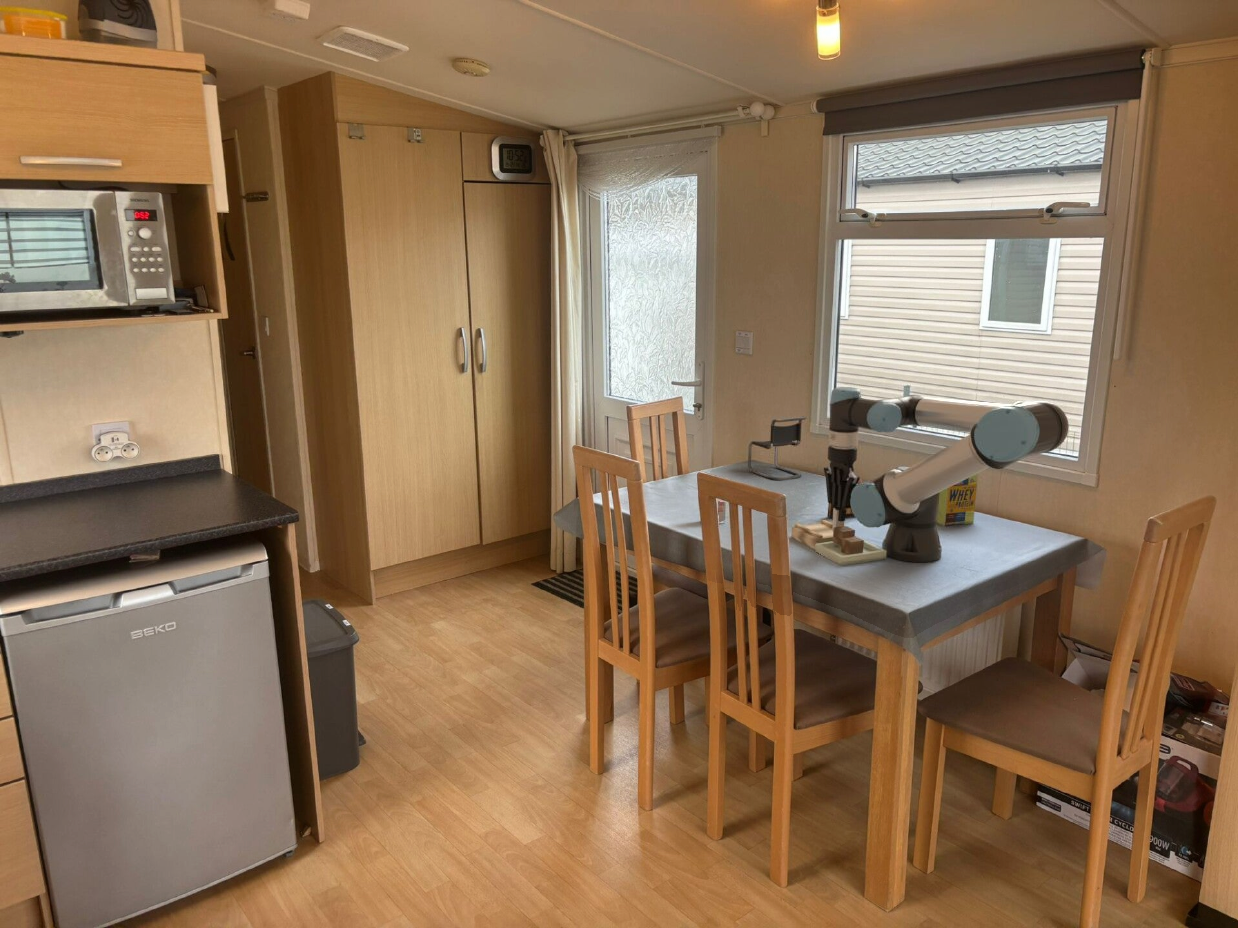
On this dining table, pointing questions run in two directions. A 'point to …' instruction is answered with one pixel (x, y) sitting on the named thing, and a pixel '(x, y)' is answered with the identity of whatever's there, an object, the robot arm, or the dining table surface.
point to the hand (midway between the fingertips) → (838, 531)
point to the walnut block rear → (842, 534)
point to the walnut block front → (852, 545)
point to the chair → (780, 444)
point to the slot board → (813, 533)
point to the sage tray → (835, 554)
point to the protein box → (958, 503)
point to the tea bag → (721, 510)
